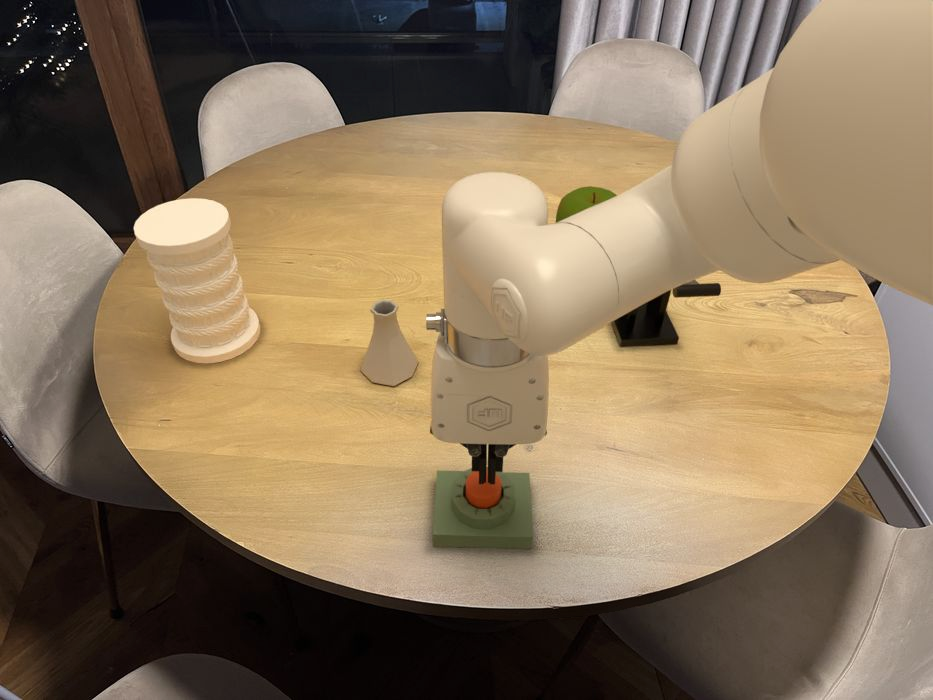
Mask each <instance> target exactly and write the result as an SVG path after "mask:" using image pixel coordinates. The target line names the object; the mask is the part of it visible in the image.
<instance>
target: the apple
mask: <svg viewBox="0 0 933 700" xmlns="http://www.w3.org/2000/svg"><path fill="white" fill-rule="evenodd" d="M617 195H618V194H616V193H615V192H613V191H612V190H610V189H607V188H603V187H599V186H598V187H597V186H590V185H589V186H581V187H579V188H576V189H573V190H571V191H570V192H568V193H567V194H565V195H564V196H563V197H562V198H560V202H559V204H558V206H557V209H556V214H555V223H557V222H559V221H561V220H564V219H566V218H568V217H570V216H572V215H575V214H577V213H579V212H581V211H583V210H585V209H588V208H590V207H592V206H595V205H597V204H600V203H602V202H604V201H607V200H609V199H611V198H613V197H615V196H617Z"/></svg>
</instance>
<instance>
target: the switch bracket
mask: <svg viewBox="0 0 933 700" xmlns="http://www.w3.org/2000/svg"><path fill="white" fill-rule="evenodd" d="M672 291H673V289H671V290H669V291H667V292H665V293H663V294H661V295H660V296H658V297H656V298H654V299H652V300H650V301H648V302H646V303H645V304H643V305H641V306H639V307H637V308H636V309H634V310H632V311H630V312H628V313H627V314H625V315H623V316H621V317H620V318H618V319H616V320H614V321H612V322H611V323H610V324H611V326H612V329H613V332H614V334H615V337H616V339H617V342H618V346H619V347H644V346H665V345H666V346H667V345H677V344H678V343H679V339H680V337H679V334H678V333H677V330H676V328H675V326H674V324H673V322H672V320H671V318H670V316H669V313H668V311H667V309H668V304H669V301H670V298H671V294H672V293H671V292H672Z"/></svg>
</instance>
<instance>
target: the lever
mask: <svg viewBox="0 0 933 700" xmlns="http://www.w3.org/2000/svg"><path fill="white" fill-rule="evenodd" d="M721 293H722V285H721V284H720V283H719V282H710V283H706V282H705V283H699V282H698V281H697V279H695V280H693V281H690V282H688V283H685V284H683V285H680V286H678V287H676V288H674V289H672V296H673V298H674V299H679V298H700V297H719V296H721Z"/></svg>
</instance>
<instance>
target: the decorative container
mask: <svg viewBox="0 0 933 700" xmlns="http://www.w3.org/2000/svg"><path fill="white" fill-rule="evenodd" d="M227 209H228V208H227V207H226V206H224V205H223V204H222V203H220V202H218V201H215V200H212V199H207V198H198V197H196V198H195V197H191V198H180V199H175V200H171V201H167V202H164V203H161V204H157V205H155V206H154V207H151V208H150V209H148V210H147V211H145V212H144V213H142V214H141V215H140V216H139V217H138V218H137V219H136V220H135V222H134V225H133V232H134V236H135V238H136V241H137V244H138V245H139V246H140V247H141V248H142V249H143V250H146V260H147V263H148V264H149V265H150V267H151V268H152V269H153V270H154V273H153V274H154V282H155V283H156V286H157V287H158V289H159V290H160V291H161V301H162V303H163V305H164V307H165V308H166V309H167V311H168V317H169V322H170V324H171V326H172V329H171V332H170V341H171V345H172V347H173V349H174V351H175V353H176V354H177V355H178V357H180V358H182V359H184V360H186V361H188V362H192V363H195V364H217V363H221V362H226V361H229V360H232V359H234V358H237V357H238V356H241V355H242V354H244V353H245V352H247V351H248V350H249V349H251V348H252V347H253V346H254V344H255V343H256V342H257V341H258V339H259V337H260V335H261V323H260V320H259V317H258V315H257V313H256V311H254V310H253V309H252V308H251V307H250V305H249V304H250V303H249V299H248V298H247V295H246V294H245V293H244V291H245V286H244V285H245V282H243V281H244V280H243V279H242V277H241V274H239V270H240V266H239V262H238V261H239V260H238V259H237V256H236V254H235V253H234V244H233V243H234V241H232V240H233V239H232V237H231V235H230V233H229V231H230V230H231V225H232V222H231V217H230V213H229V211H228V210H227Z"/></svg>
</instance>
